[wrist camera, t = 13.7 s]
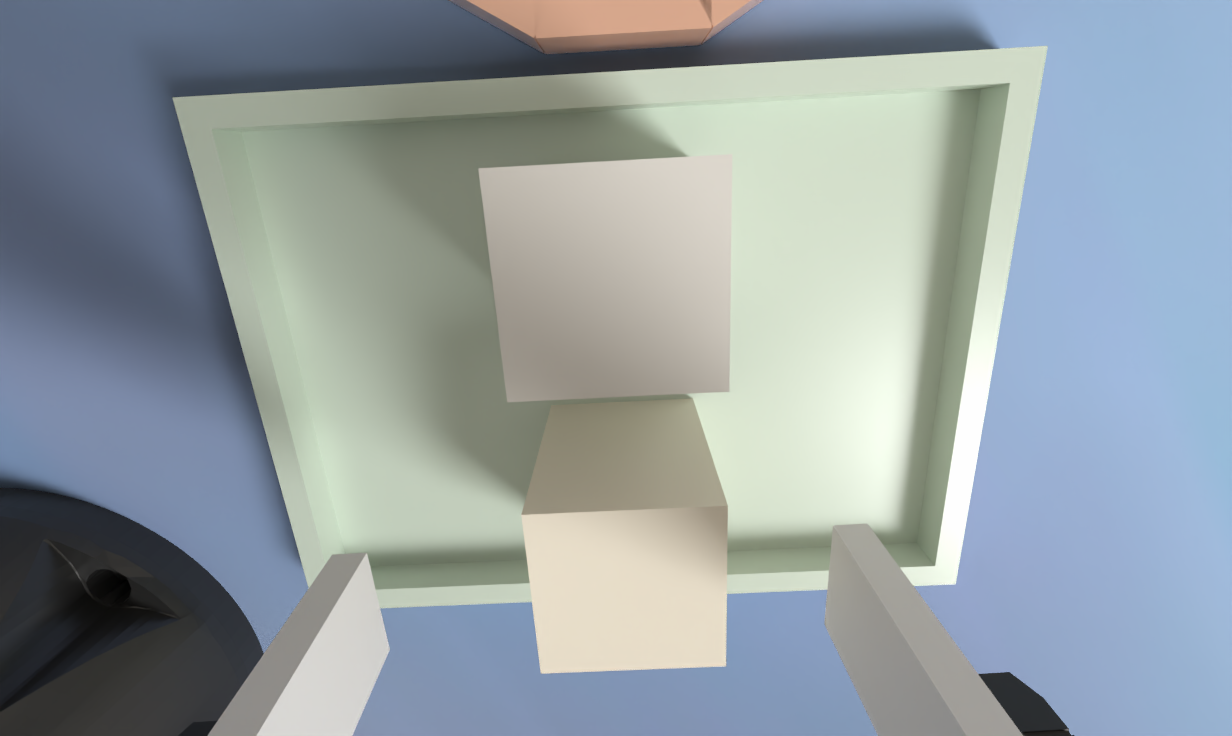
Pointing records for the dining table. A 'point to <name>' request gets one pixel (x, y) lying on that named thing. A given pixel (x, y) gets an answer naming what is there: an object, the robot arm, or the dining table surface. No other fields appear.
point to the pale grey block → (611, 276)
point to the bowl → (608, 22)
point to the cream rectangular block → (626, 539)
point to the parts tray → (732, 421)
